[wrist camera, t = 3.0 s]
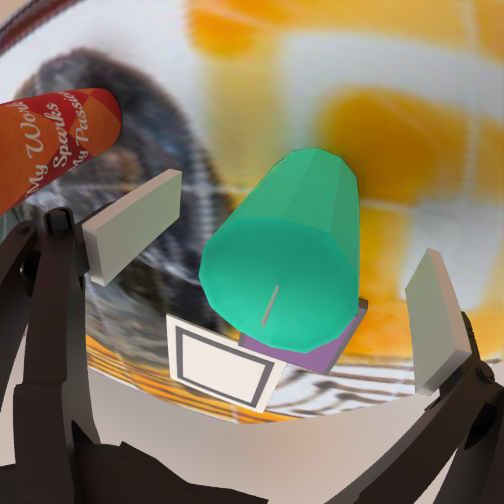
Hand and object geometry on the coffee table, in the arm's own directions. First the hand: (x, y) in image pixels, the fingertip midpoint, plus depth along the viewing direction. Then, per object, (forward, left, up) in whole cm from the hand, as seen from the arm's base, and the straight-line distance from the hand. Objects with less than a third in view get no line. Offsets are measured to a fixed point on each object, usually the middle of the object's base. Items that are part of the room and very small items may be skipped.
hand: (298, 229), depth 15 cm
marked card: (+4, +23, -5) cm, 24 cm away
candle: (0, 0, -6) cm, 6 cm away
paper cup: (+18, -2, -6) cm, 19 cm away
